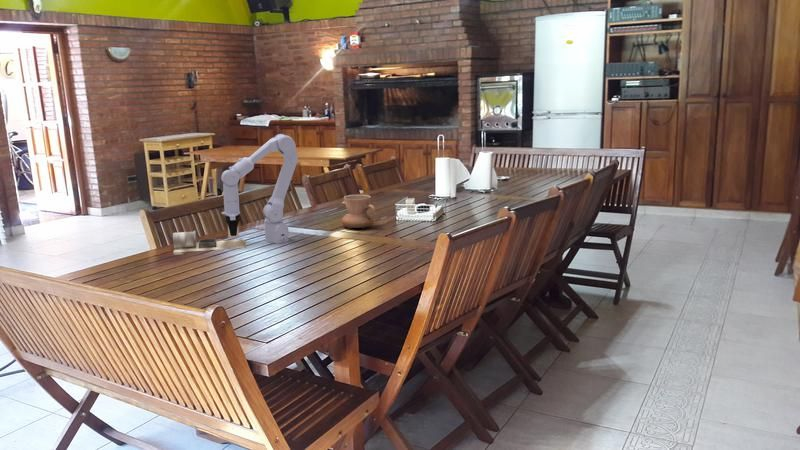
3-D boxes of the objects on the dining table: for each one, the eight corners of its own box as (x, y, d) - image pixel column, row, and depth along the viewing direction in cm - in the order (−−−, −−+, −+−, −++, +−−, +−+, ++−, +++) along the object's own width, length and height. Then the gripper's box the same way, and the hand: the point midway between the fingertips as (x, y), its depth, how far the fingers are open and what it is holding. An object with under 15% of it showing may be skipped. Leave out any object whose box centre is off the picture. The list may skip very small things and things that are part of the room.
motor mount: (244, 241, 262) (243, 224, 260) (246, 250, 248) (245, 231, 247) (175, 246, 254) (174, 228, 253) (173, 255, 241) (171, 236, 240)
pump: (240, 236, 253) (239, 219, 252) (232, 238, 250) (231, 221, 249) (234, 235, 256) (233, 218, 254) (226, 237, 253) (225, 219, 251)
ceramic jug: (333, 227, 286) (332, 196, 283) (353, 222, 298) (353, 192, 295) (364, 233, 276) (363, 201, 273) (384, 227, 288) (384, 196, 285)
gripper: (220, 198, 256) (222, 231, 259) (220, 204, 242) (223, 239, 245) (238, 197, 257) (240, 229, 260) (240, 203, 244) (242, 238, 247)
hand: (233, 234), depth 253 cm, fingers closed on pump, 4 cm apart
